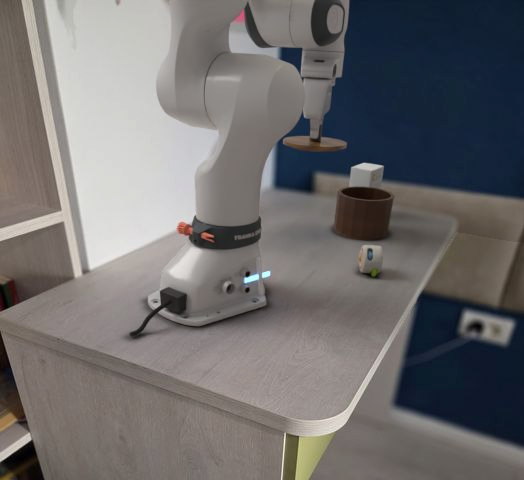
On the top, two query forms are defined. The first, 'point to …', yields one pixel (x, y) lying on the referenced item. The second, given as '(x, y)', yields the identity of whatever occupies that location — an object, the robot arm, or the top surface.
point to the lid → (315, 143)
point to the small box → (366, 175)
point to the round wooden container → (363, 212)
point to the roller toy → (371, 259)
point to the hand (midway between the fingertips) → (315, 136)
